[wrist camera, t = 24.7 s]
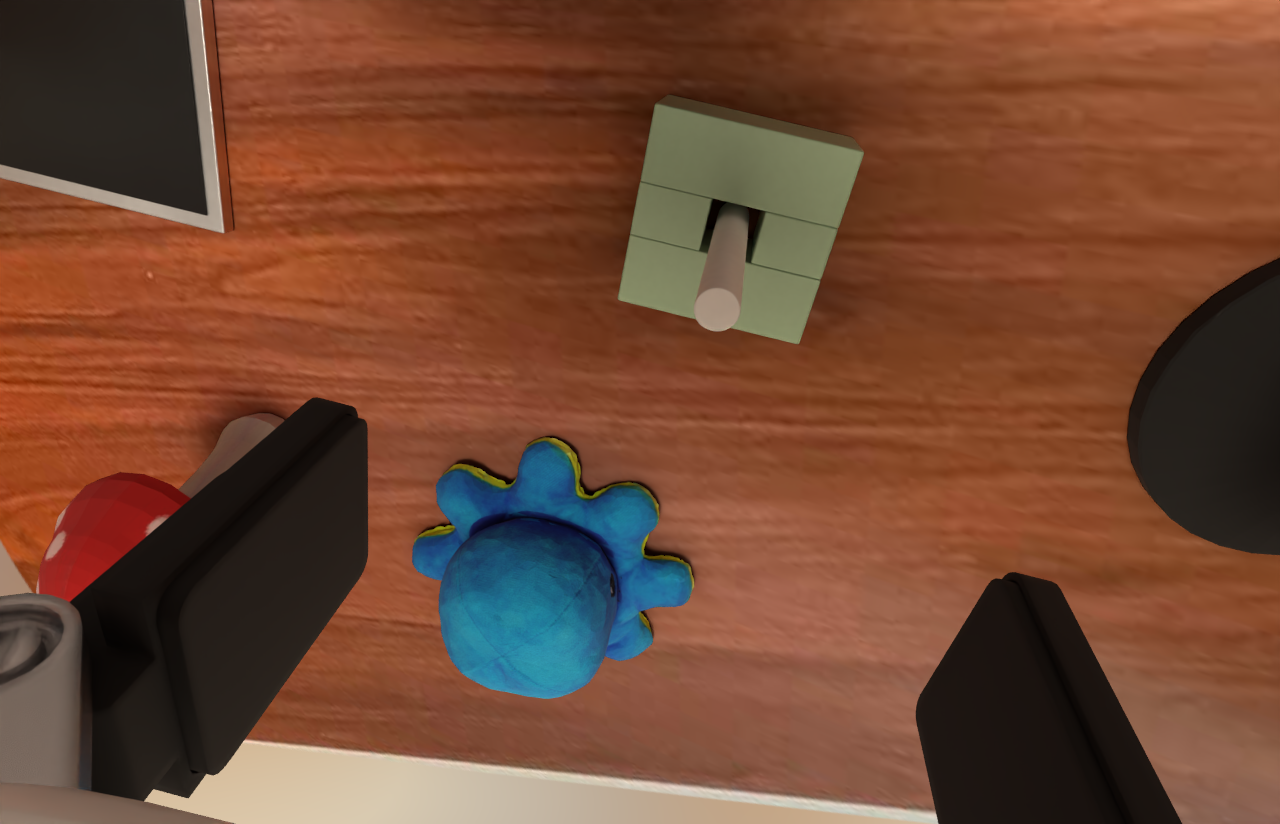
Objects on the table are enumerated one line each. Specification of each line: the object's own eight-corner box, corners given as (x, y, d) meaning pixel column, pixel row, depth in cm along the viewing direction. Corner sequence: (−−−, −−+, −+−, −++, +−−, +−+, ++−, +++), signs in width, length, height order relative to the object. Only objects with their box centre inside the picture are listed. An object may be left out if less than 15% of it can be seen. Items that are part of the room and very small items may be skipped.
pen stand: (667, 93, 31) (655, 102, 27) (853, 137, 30) (864, 151, 27) (632, 273, 35) (617, 300, 31) (795, 313, 34) (798, 345, 31)
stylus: (722, 193, 32) (698, 283, 21) (753, 199, 32) (745, 293, 21) (716, 223, 33) (689, 326, 22) (746, 229, 33) (734, 336, 21)
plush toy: (371, 486, 44) (292, 578, 37) (616, 409, 38) (580, 498, 31) (498, 673, 50) (453, 782, 43) (723, 629, 45) (715, 745, 38)
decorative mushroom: (344, 532, 46) (178, 732, 33) (219, 502, 46) (7, 687, 33) (337, 401, 41) (138, 574, 28) (197, 368, 42) (-62, 525, 29)
